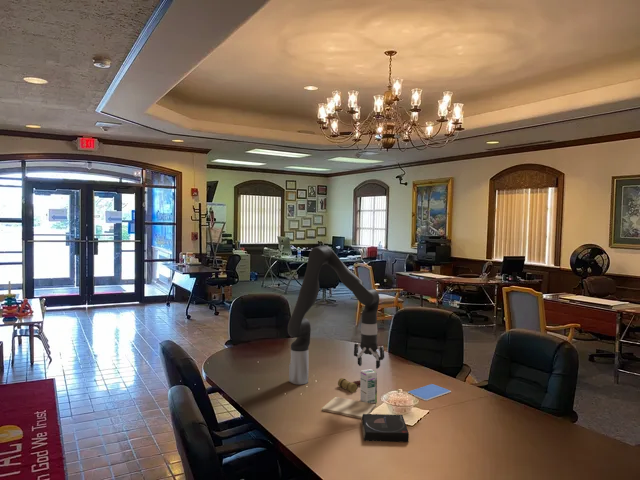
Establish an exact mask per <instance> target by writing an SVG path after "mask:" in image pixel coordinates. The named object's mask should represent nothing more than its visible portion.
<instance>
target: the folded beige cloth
mask: <svg viewBox="0 0 640 480" xmlns="http://www.w3.org/2000/svg"><path fill="white" fill-rule="evenodd" d="M376 407H377V405H376V403H366V402H362V401H361V400H355V399H351V398H347V397H346V398H345V397H339V396H335V397H334V398H332V399H331V400H330V401H329V402H327V403H326V404H325V405H324V406H322V407H321V411H323V412H328V413H333V414H336V415H342V416H346V417H352V418H357V419H361V420H362V416H363V414H371V413H372V412H373V410H375V408H376Z"/></svg>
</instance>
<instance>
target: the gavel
mask: <svg viewBox="0 0 640 480" xmlns="http://www.w3.org/2000/svg"><path fill="white" fill-rule="evenodd" d="M337 386H338V387H339V388H342V389H345V390H347V391H348V392H350V393H352V394H353V393H355V392H357V390H358V387H360V380H356V381H355V380H354V381H352V382H351V381H348V380H347V379H345V378H344V377H340V378H339V379H338V381H337Z"/></svg>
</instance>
